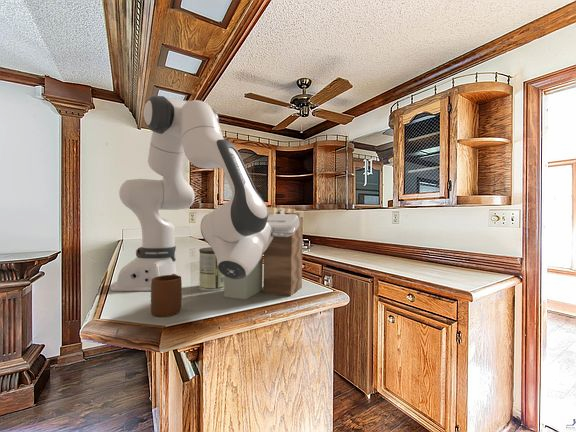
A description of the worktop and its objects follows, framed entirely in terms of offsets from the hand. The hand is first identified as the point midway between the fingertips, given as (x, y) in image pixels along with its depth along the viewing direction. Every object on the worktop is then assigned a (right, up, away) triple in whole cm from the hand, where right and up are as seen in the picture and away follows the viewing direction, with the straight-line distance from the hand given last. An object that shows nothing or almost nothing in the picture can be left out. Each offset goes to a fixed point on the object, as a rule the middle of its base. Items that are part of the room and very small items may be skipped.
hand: (274, 211), depth 91 cm
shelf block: (-10, -28, +4) cm, 30 cm away
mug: (-29, -28, -13) cm, 42 cm away
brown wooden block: (+3, -28, +9) cm, 29 cm away
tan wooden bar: (+2, -2, +5) cm, 6 cm away
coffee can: (-23, -28, +11) cm, 38 cm away
